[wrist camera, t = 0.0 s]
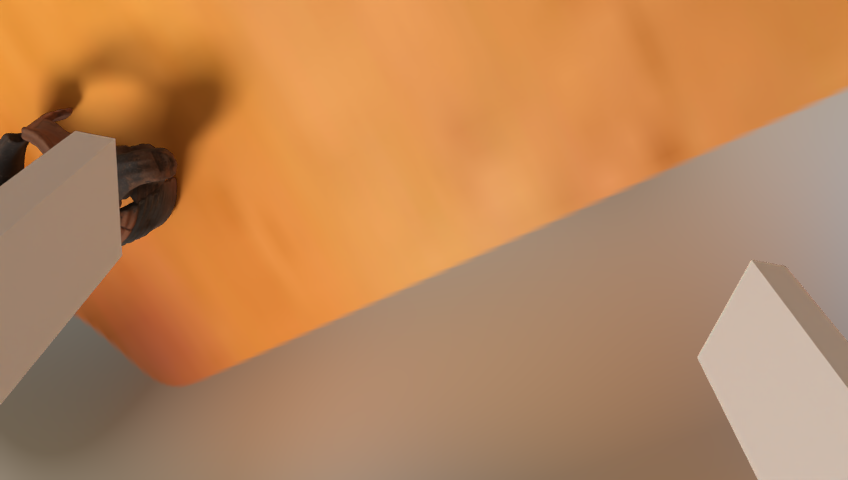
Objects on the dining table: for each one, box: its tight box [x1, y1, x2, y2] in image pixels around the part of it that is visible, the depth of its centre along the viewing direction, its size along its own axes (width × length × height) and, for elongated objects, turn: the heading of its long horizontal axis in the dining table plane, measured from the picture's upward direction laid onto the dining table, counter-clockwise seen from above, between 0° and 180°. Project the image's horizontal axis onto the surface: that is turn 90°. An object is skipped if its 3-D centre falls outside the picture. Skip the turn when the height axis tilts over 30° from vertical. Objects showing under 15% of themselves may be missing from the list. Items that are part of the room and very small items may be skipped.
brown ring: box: [0, 108, 177, 246], centre depth 41 cm, size 12×10×8 cm
